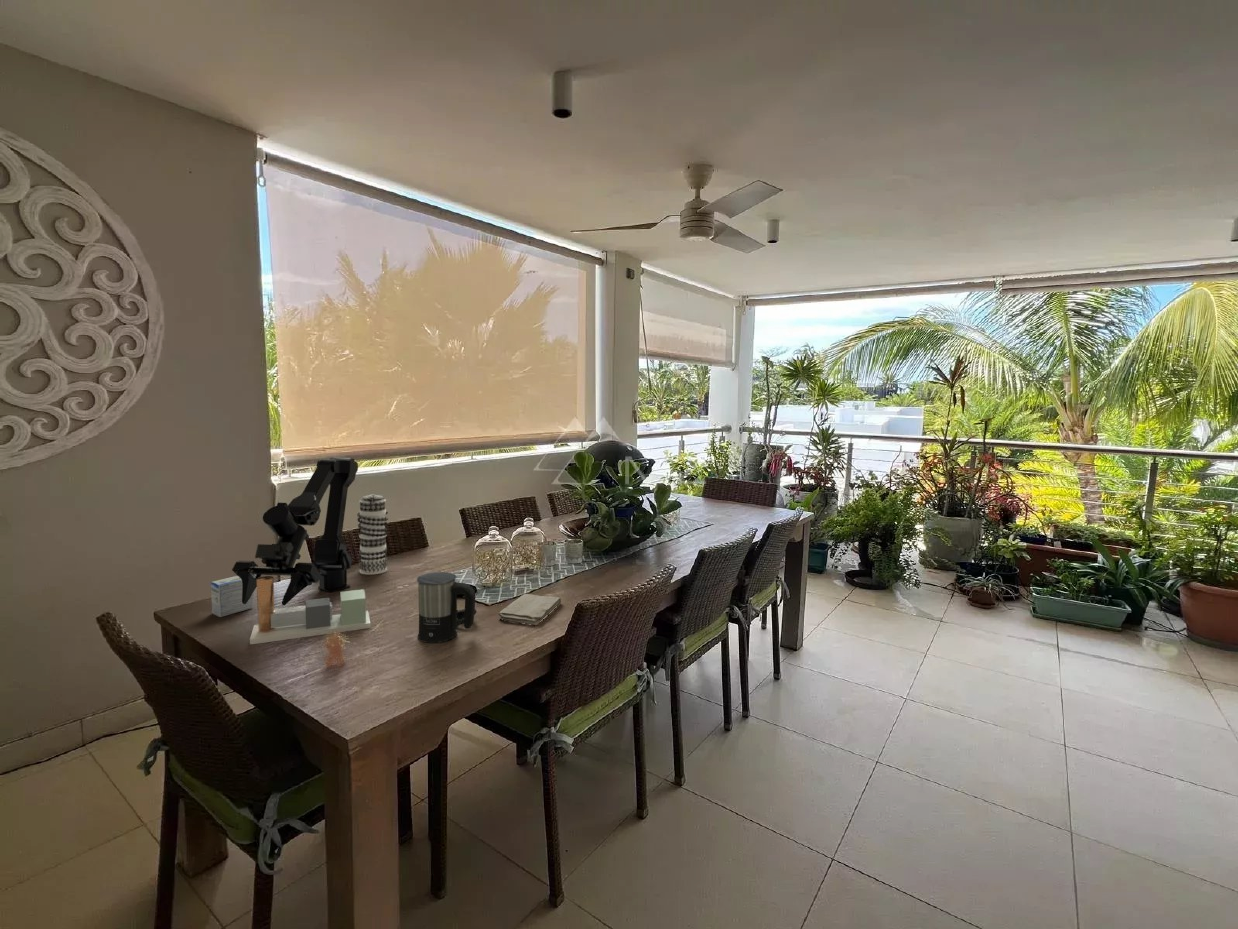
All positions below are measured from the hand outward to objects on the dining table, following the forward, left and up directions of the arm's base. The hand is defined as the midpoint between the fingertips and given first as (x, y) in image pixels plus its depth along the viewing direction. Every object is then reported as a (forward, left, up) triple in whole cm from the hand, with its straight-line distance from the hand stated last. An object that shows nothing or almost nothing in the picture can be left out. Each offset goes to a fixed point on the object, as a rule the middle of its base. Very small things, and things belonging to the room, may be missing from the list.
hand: (263, 604), depth 134 cm
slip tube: (-6, +3, -6) cm, 9 cm away
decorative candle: (-46, -25, -8) cm, 53 cm away
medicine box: (-3, -22, -8) cm, 24 cm away
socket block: (-17, +9, -7) cm, 20 cm away
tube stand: (-9, +4, -8) cm, 13 cm away
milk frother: (-29, +30, -8) cm, 43 cm away
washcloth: (-51, +39, -9) cm, 64 cm away
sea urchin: (-2, +27, -8) cm, 28 cm away
